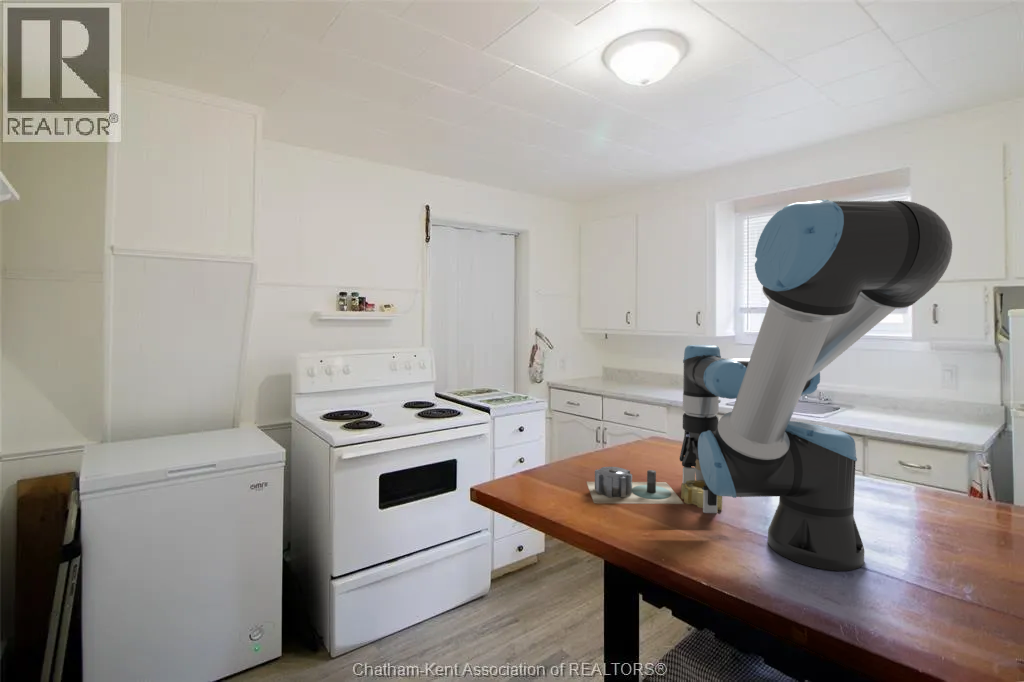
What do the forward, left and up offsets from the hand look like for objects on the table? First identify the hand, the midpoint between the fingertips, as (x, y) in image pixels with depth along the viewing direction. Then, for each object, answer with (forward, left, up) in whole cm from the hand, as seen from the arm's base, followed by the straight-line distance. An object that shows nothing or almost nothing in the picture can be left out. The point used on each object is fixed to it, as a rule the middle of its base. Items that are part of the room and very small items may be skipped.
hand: (698, 506), depth 111 cm
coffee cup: (+13, -7, 0) cm, 14 cm away
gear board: (+5, +14, 0) cm, 15 cm away
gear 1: (+5, +19, +1) cm, 19 cm away
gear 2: (0, 0, 0) cm, 1 cm away
